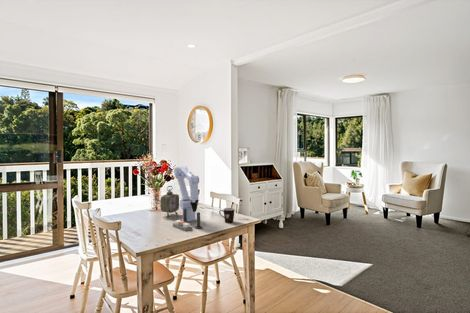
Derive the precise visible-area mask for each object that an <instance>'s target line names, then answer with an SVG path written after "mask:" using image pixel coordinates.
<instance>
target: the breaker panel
mask: <svg viewBox="0 0 470 313" xmlns="http://www.w3.org/2000/svg"><path fill="white" fill-rule="evenodd" d="M180 221H181V219H178V220H174V223H172V227H173V228H176V229H179V230H181V231H183V232H189V231H192V230H193V226H192V225H190V224H191V223H189V222H188V223H183V225H179V222H180Z"/></svg>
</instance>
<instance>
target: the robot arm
mask: <svg viewBox="0 0 470 313" xmlns="http://www.w3.org/2000/svg"><path fill="white" fill-rule="evenodd" d="M173 174H174V177H175V179H177V183H178V186H179V190H180V193H181V197H182V198H181V199H179V208H180V209H181V210H183V209H186V213H187V221H188V223H189V222H192V221H197V218H196V213H197V210H198V204H199V201H200V198H199V184H200V183H199V182H200V177H199V176H198V175H195V174H194V173H192V171H189V169H188V167H187V166H175V167H174V169H173ZM185 179H187V180H188V184H189V188H190V191H189V192H188V190H187V186H186V182H185ZM189 193H190V194H189ZM189 195H190V196H189ZM180 221H183V218H182V219H180Z"/></svg>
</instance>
